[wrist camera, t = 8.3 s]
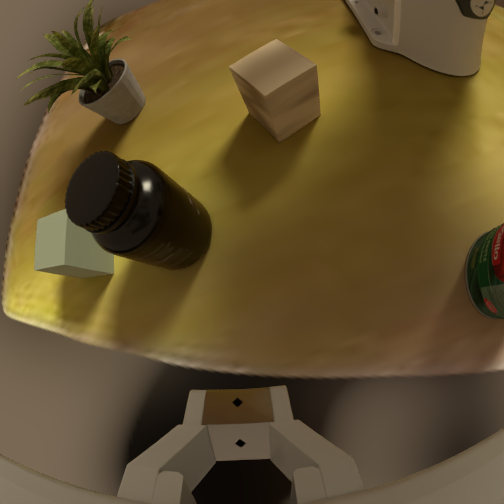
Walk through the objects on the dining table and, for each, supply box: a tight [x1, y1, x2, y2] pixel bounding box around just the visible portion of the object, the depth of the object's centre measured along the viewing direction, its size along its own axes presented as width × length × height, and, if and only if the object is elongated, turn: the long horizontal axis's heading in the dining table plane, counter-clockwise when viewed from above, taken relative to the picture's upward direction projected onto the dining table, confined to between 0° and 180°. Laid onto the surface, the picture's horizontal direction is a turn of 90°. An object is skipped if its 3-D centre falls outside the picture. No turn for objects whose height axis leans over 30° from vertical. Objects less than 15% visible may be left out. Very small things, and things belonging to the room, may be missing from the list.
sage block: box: [34, 209, 114, 278], centre depth 25 cm, size 5×5×7 cm
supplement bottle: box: [65, 151, 212, 270], centre depth 21 cm, size 7×7×12 cm
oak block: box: [229, 39, 321, 143], centre depth 23 cm, size 5×5×7 cm
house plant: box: [16, 0, 145, 124], centre depth 24 cm, size 14×14×16 cm
